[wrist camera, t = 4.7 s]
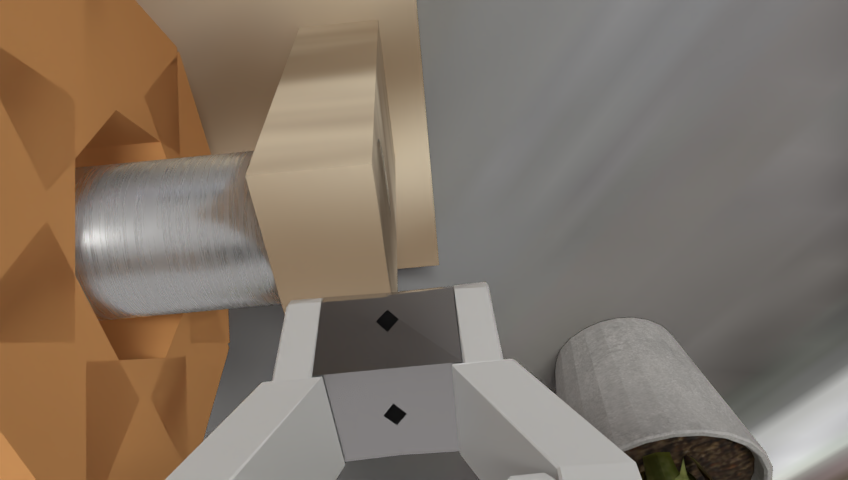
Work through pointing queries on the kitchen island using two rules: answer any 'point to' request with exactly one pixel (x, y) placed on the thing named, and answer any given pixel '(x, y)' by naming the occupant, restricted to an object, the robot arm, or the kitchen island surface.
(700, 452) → the house plant
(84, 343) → the orange faceted ring
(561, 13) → the kitchen island surface
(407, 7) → the pipe stand
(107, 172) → the steel pipe
